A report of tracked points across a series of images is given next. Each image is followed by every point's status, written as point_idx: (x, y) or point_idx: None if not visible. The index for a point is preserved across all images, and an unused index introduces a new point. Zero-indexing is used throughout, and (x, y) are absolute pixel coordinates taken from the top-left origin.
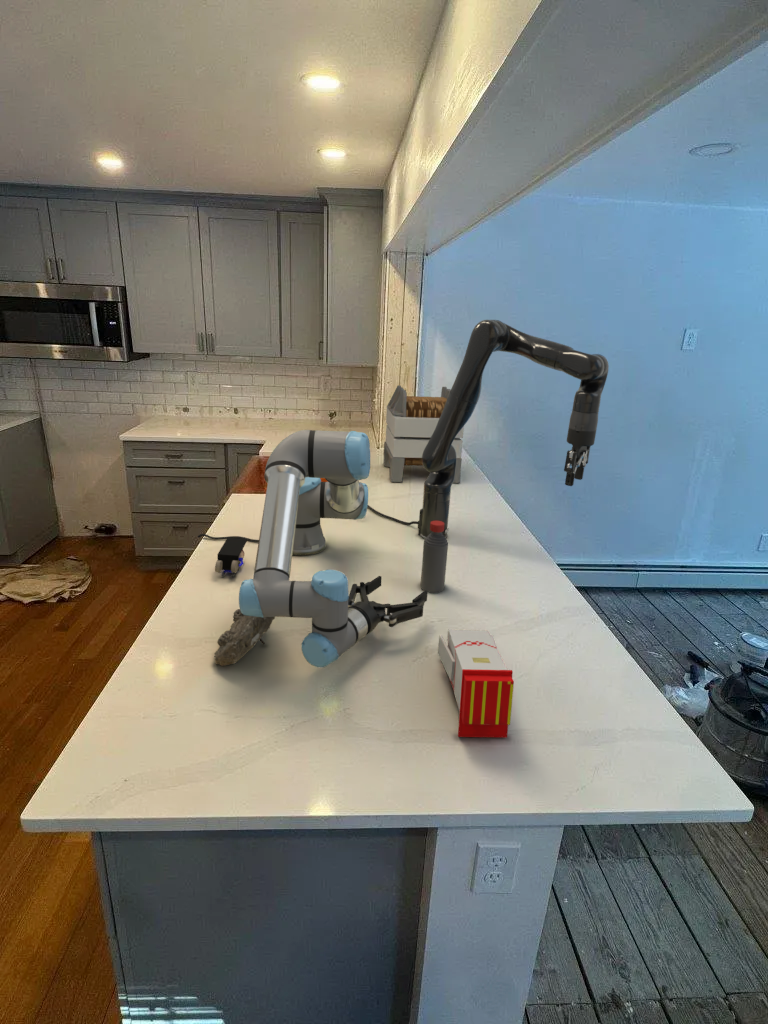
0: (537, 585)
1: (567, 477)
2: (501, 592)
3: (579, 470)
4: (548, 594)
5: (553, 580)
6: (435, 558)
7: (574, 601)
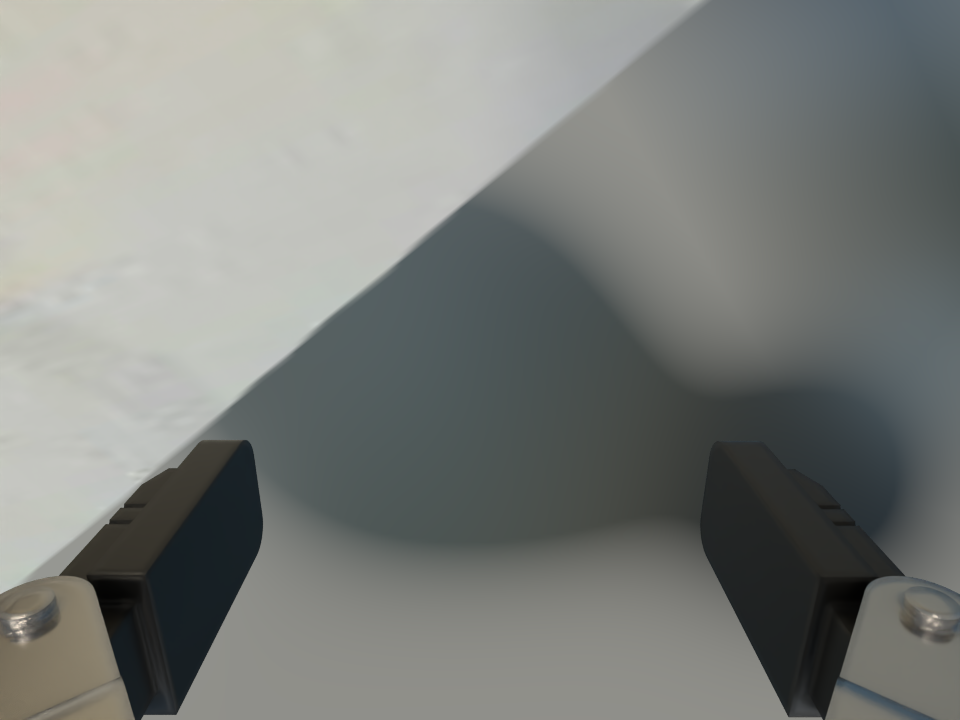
0: (265, 187)
1: (94, 555)
2: (51, 67)
3: (770, 597)
4: (218, 264)
5: (376, 231)
6: None
7: (245, 373)
